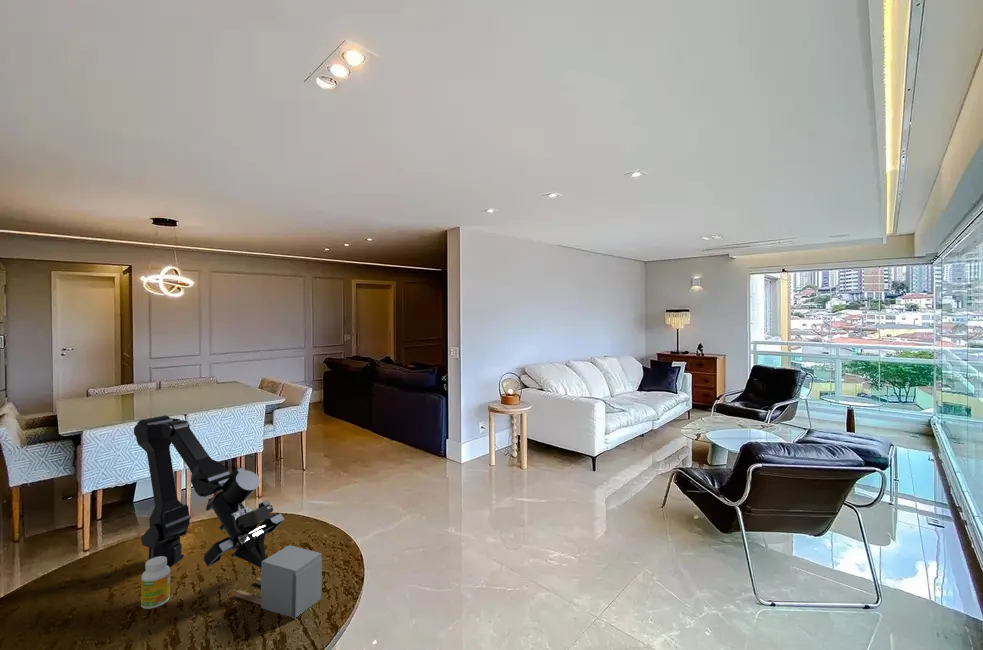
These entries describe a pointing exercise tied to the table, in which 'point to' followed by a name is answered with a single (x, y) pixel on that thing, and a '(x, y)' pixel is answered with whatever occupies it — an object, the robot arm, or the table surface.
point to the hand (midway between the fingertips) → (264, 566)
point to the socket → (291, 581)
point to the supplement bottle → (155, 583)
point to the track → (250, 596)
